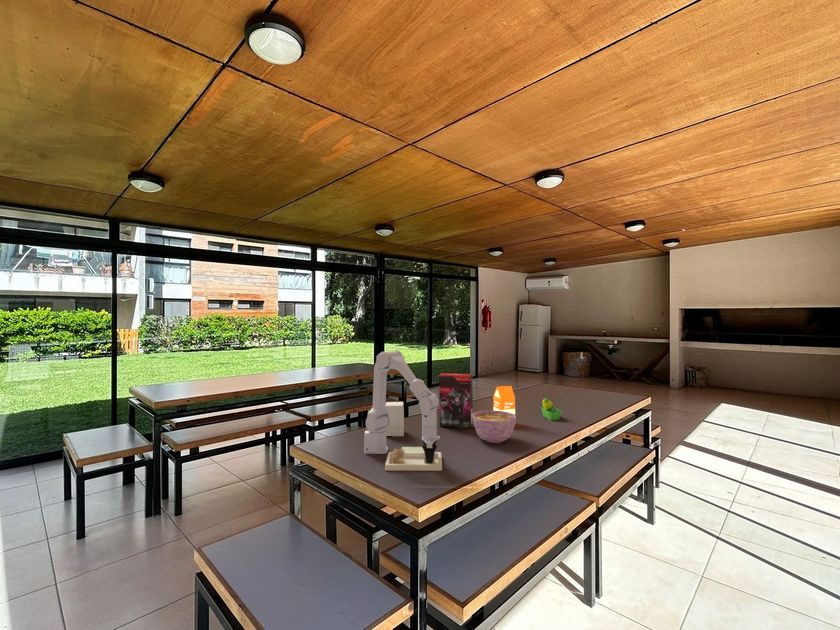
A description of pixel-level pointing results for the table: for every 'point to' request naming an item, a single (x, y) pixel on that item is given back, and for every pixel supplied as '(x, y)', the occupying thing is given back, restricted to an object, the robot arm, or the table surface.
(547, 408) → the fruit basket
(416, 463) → the tray
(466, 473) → the table surface
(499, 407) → the orange juice
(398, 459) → the plain block
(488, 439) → the bowl of food
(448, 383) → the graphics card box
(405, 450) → the pad
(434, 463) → the labelled block
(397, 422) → the supplement box
